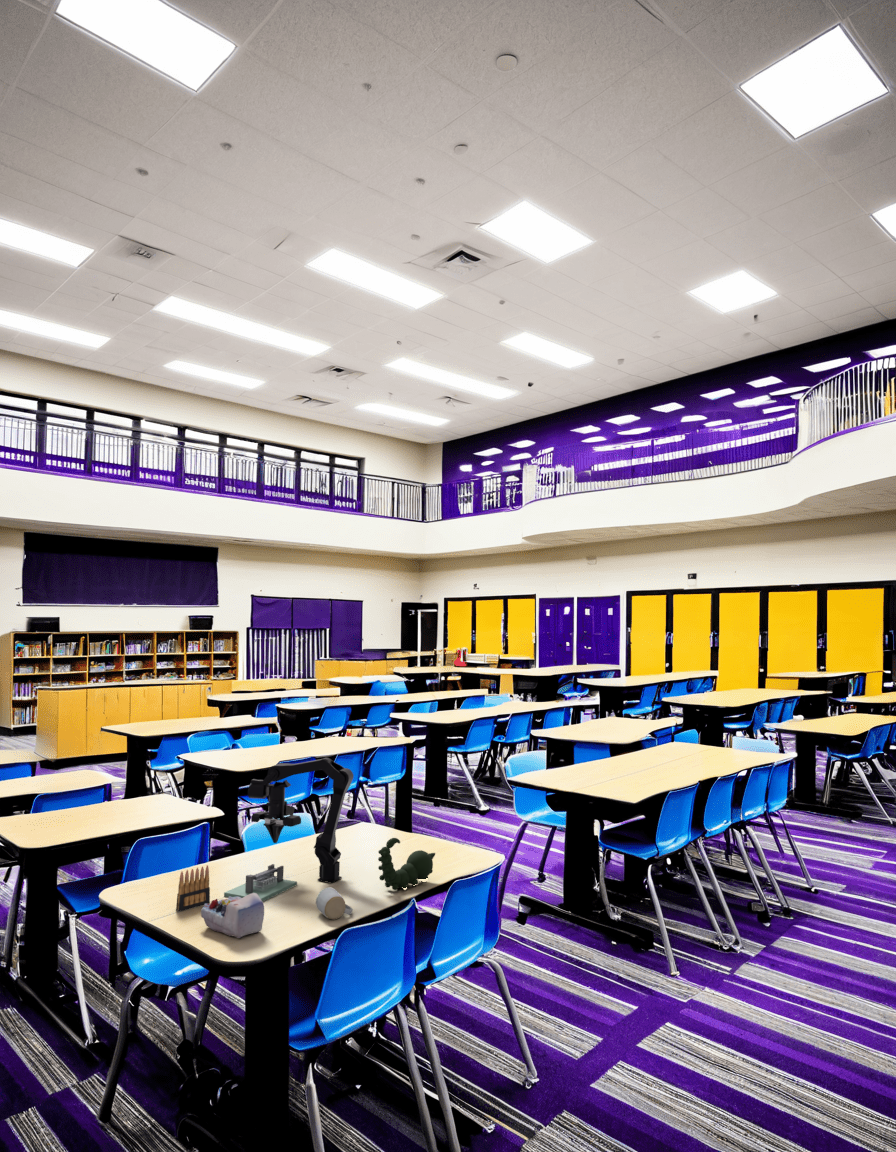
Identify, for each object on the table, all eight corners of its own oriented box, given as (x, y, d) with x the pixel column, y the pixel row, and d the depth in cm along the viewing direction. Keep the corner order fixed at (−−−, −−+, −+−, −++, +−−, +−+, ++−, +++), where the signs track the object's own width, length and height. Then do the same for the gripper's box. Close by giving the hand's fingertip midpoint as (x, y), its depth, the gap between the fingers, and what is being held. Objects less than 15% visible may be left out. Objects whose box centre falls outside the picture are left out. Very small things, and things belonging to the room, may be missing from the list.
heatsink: (277, 884, 247) (277, 875, 247) (262, 891, 240) (262, 882, 240) (260, 882, 250) (261, 873, 250) (245, 888, 242) (245, 879, 243)
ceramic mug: (324, 922, 216) (325, 896, 217) (315, 914, 223) (316, 888, 224) (356, 917, 221) (357, 891, 222) (346, 909, 228) (347, 884, 229)
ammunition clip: (206, 902, 233) (208, 864, 234) (209, 903, 232) (211, 865, 233) (175, 910, 225) (177, 871, 226) (178, 912, 224) (180, 872, 225)
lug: (255, 891, 240) (255, 874, 240) (250, 893, 238) (251, 876, 238) (249, 890, 241) (250, 873, 241) (245, 892, 239) (245, 875, 239)
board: (296, 885, 250) (297, 881, 251) (259, 902, 232) (260, 899, 232) (262, 879, 257) (262, 875, 257) (224, 896, 239) (224, 892, 239)
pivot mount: (283, 880, 252) (283, 865, 252) (278, 882, 249) (278, 867, 250) (272, 878, 254) (272, 864, 254) (267, 880, 251) (267, 866, 252)
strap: (273, 870, 253) (273, 867, 253) (279, 871, 252) (279, 868, 252) (249, 878, 242) (250, 876, 242) (256, 880, 240) (256, 877, 240)
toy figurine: (392, 902, 239) (445, 879, 256) (389, 845, 240) (442, 826, 257) (374, 895, 245) (427, 873, 263) (371, 839, 246) (424, 821, 264)
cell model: (237, 904, 201) (196, 891, 213) (236, 944, 199) (195, 929, 211) (274, 892, 211) (233, 880, 223) (273, 930, 210) (232, 916, 222)
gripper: (310, 797, 266) (309, 840, 264) (270, 793, 274) (268, 835, 272) (292, 803, 256) (290, 848, 254) (251, 798, 263) (249, 841, 262)
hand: (275, 842), depth 261 cm, fingers closed
